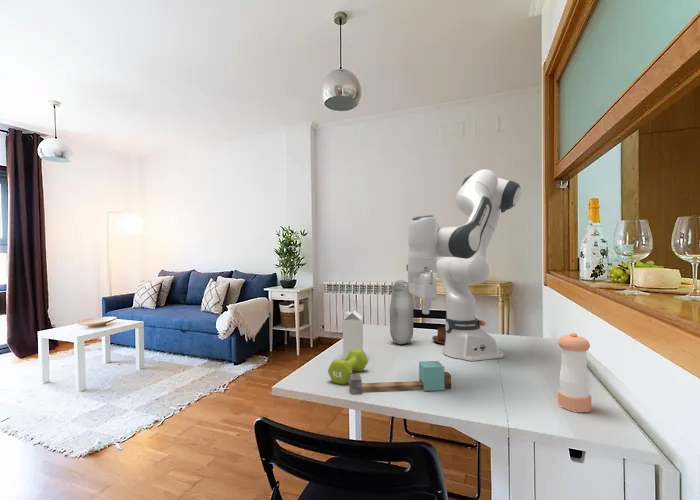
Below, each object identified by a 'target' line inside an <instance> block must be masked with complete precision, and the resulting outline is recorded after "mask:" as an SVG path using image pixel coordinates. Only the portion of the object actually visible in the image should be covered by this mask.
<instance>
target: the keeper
mask: <svg viewBox="0 0 700 500" xmlns="http://www.w3.org/2000/svg"><path fill="white" fill-rule="evenodd" d="M444 372H445V366H444V365H443V364H442V363H441V362H440V361H439V360H429V361H427V360H423V361H421V360H420V361H418V381H422V382H423V384H424V390H423V391H424V392H429V391H430V392H431V391H432V392H433V391H435V392H436V391H445V390H446V389H444Z"/></svg>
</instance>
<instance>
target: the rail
mask: <svg viewBox="0 0 700 500" xmlns="http://www.w3.org/2000/svg"><path fill="white" fill-rule="evenodd" d="M444 389H445V390H448V389H449V390H450V389H451V390H452V375H451V373H449V372H448V371H444ZM401 391H402V392H403V391H424V384H423V382H422V381H419V380H415V381H413V380H411V381H410V380H409V381H406V380H405V381H386V382H385V381H383V382H362V376H361V373H352V374H350V379H349V392H350V393H351V395H353V394H354V395H359V394H360V395H362V393H376V392H377V393H378V392H401Z"/></svg>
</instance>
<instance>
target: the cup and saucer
mask: <svg viewBox="0 0 700 500" xmlns="http://www.w3.org/2000/svg"><path fill="white" fill-rule="evenodd" d="M436 330H437V334H436V335H433V336H432V340H433V341H434V342H435V343H437V344H440V345H445V340H446V329H445V326H441V327H438V328H437V329H436Z"/></svg>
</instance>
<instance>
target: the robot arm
mask: <svg viewBox="0 0 700 500" xmlns="http://www.w3.org/2000/svg"><path fill="white" fill-rule="evenodd" d="M521 190H522V189H521V186H520V183H518V182H515V181H514V180H508V179H506V178H505V179H504V178H501V177H498V175H496V173H495V172H493V171H492V170H490V169H479V170H478V171H475V173H473V174H471V175H469V174H468V176H467V177H465V178H464V180H463V181H462V184H461V187H460V188H459V190H458V191H457V194H456V197H455V203H456V206H457V207H458V209H459V211H461V213H463V214H464V215H466V216H469V217H468V219H467V221H466V223H464V224H461V225H459V226H458V225H457V226H446V227H445V226H442V225H441V224H440V223H438V222H437V219H436V216H435V215H433V214H428V215H427V214H426V215H420V216H418V215H417V216H414V217H413V218H411V220H410V222H409V226H408V228H409V229H408V235H407V236H408V239H407V241H408V242H407V243H408V247H409V248H408V249H409V252H408V254H407V263H406V267H405V268H406V272H407V283H408V288H409V292H410V295H411V294H412V298H413V302H414V303H413V304H414V305H413V309H415V310H421V313H422V314H424V315H429V314H430V308H431V305H432V301H436V300H437V298H438V284H437V283H438V281H437V276H438V278H439V279H440V281H441V284H442V286H443V291H444V294H445V300H446V301H445V303H446V304H445V305H446V307H445V308H446V317H445V324H444V325H445V326H444V327H445V329H446V340H445V344H444V346H443V349H442V350H443V351H442V353H443V354H444V356H445V355H446V356H447V357H450V358H453V359H455V358H456V359H460V360H464V361H465V360H466V361H469V362H475V361H481V360H482V361H484V360H492V359H502V358H504V353H503V352H502V351H501V350H499V349H498V346H497V343H496V340H495V338H494V337H493V336H491V335H490V334H489V333H487V332H486V331H485V330H484V329H482V327H485V326H486V324H487V323H486V322H485V320H481V319H478V318H477V310H476V308H477V306H476V305H477V301H476V297H475V296H474V295H473V294H472V292H471V290H470V287H469V285H477V284H482V283H483V282H485V281H486V280H487V279H488V277H489V273H490V267H489V264H488V262H487V260H486V255H487V249H488V247H489V244H490V241H491V240H492V237H493V235H494V233H495V231H496V228H497V226H498V222H499V220H500V214H502V213H505V212H507V211H508V210H510V209H513V207H515V206H516V205H517V203H518V202H519V200H520V197H521V193H522V192H521ZM438 257H440V259H438ZM436 275H437V276H436ZM421 299H422V304H421ZM481 326H482V327H481Z"/></svg>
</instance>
